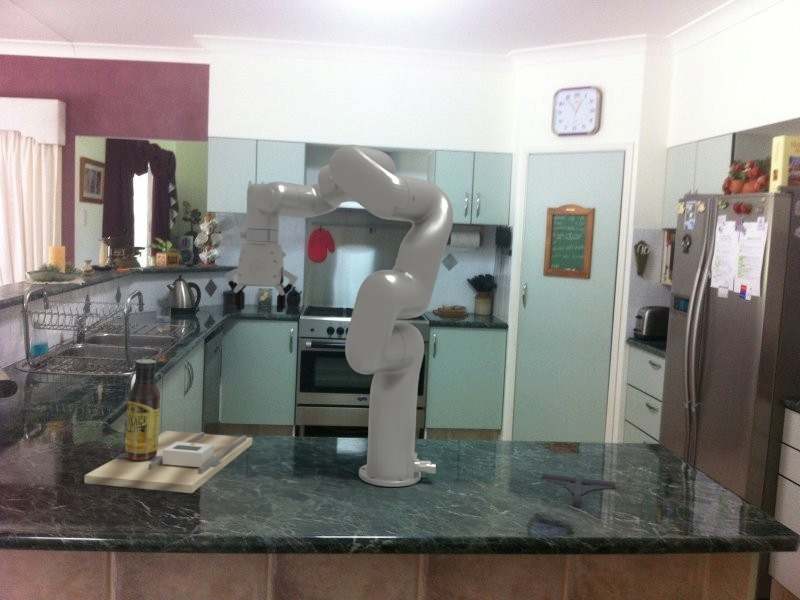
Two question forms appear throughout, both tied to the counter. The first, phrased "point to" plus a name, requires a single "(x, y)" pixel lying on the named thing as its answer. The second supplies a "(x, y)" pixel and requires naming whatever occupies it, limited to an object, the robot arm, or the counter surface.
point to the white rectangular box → (188, 454)
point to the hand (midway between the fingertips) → (260, 310)
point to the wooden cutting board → (166, 475)
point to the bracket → (579, 485)
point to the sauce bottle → (143, 413)
